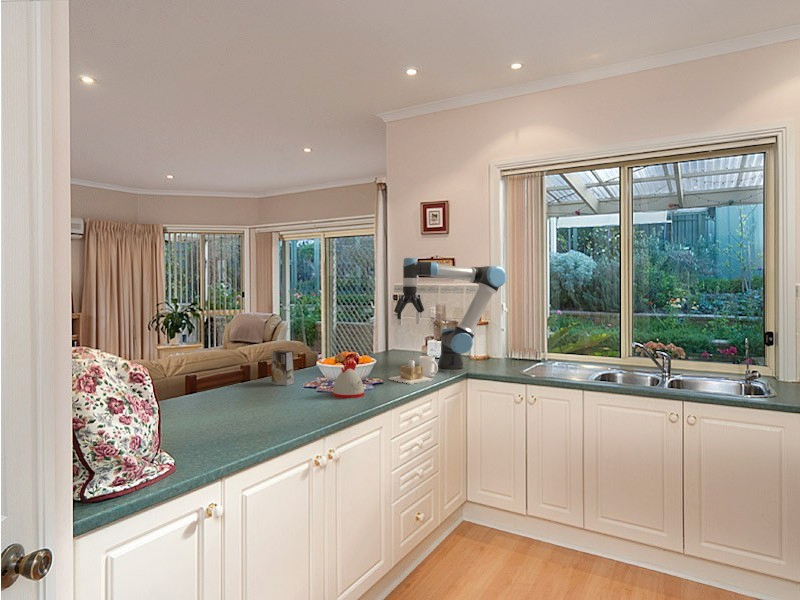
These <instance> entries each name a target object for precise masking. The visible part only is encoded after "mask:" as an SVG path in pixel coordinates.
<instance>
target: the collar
mask: <svg viewBox="0 0 800 600" xmlns="http://www.w3.org/2000/svg"><path fill="white" fill-rule="evenodd" d="M399 370H400V375H399V376H400V378H403V379H407V380H416V379H422V373H423V367H421V366H419V365H415V367H414V368H409V367H408V364H407V365H401V366H400V369H399Z"/></svg>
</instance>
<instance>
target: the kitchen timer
mask: <svg viewBox="0 0 800 600" xmlns="http://www.w3.org/2000/svg"><path fill="white" fill-rule="evenodd" d="M356 367H357V363H355V362H354V361H352V362H351V361H346V363H345V364H343V367H340V368H341V372H340V373H339V374H338V376H337V377H336V378H335V380H334V381H335V382H334V384H333V387H332V397H334V396H335V397H334V398H337V397H339V398H338V399H344V398H352V399H358V397H359V398H362V397H364V396H365V390H364V389H365V388H364V384H363V380H362V378H361V377H360V376H359V374H358V373H357V372H356Z"/></svg>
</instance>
